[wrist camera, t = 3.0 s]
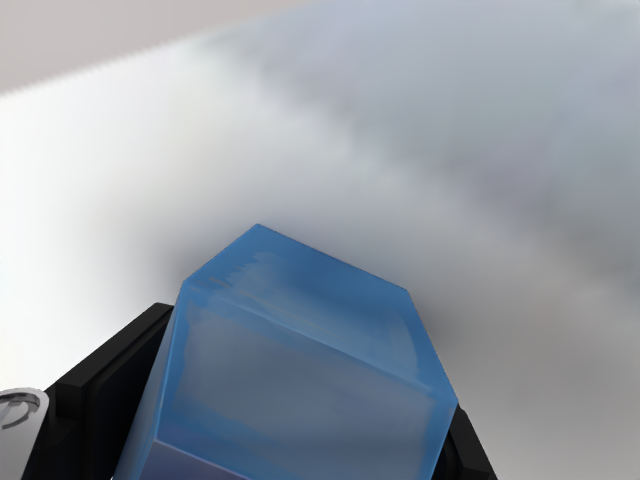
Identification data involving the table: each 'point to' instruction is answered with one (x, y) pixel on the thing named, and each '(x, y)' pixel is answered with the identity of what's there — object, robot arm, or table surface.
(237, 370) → the perfume bottle
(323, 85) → the table surface
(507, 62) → the table surface
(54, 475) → the robot arm
